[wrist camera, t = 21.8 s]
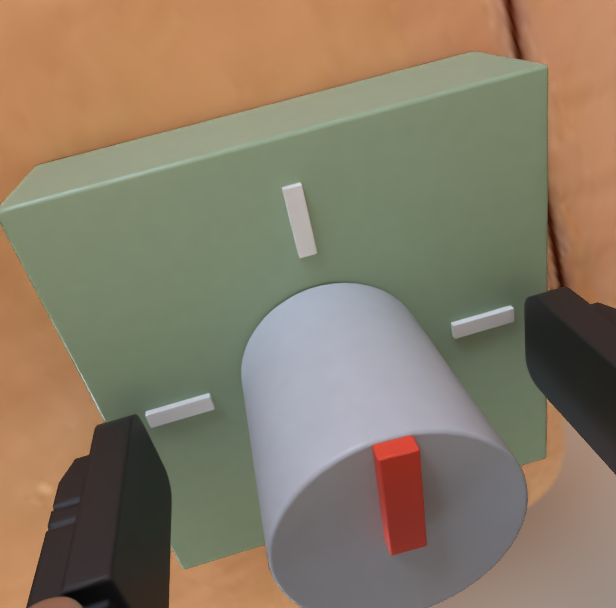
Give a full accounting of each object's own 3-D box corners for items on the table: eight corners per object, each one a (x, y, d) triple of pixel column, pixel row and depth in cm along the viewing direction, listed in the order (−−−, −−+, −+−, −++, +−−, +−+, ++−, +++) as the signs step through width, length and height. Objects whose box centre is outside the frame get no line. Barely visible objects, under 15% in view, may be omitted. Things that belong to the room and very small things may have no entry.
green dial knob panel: (475, 49, 13) (556, 63, 10) (494, 391, 18) (551, 462, 15) (33, 165, 12) (-13, 214, 9) (183, 484, 17) (182, 577, 14)
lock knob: (426, 412, 13) (534, 599, 9) (261, 454, 13) (295, 667, 9) (416, 261, 11) (548, 413, 7) (220, 306, 11) (241, 492, 7)
